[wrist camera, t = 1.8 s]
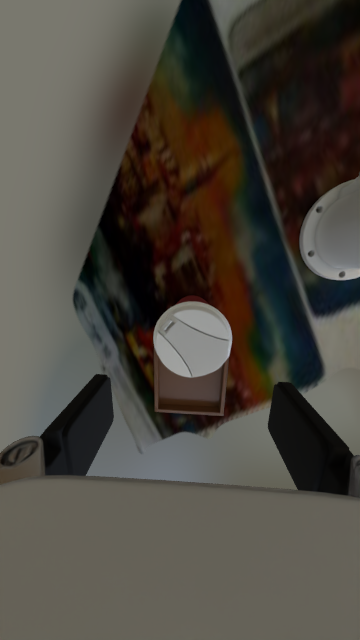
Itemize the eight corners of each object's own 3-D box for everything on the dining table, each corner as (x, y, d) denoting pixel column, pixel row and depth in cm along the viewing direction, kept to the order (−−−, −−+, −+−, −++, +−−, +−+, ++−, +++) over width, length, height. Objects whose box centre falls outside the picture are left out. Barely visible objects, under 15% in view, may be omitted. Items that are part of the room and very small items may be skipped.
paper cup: (159, 314, 31) (134, 349, 18) (189, 278, 29) (187, 285, 16) (195, 343, 32) (197, 397, 18) (226, 309, 30) (254, 342, 17)
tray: (155, 344, 32) (153, 349, 31) (227, 347, 32) (229, 352, 30) (156, 404, 36) (154, 411, 34) (221, 407, 35) (223, 415, 33)
